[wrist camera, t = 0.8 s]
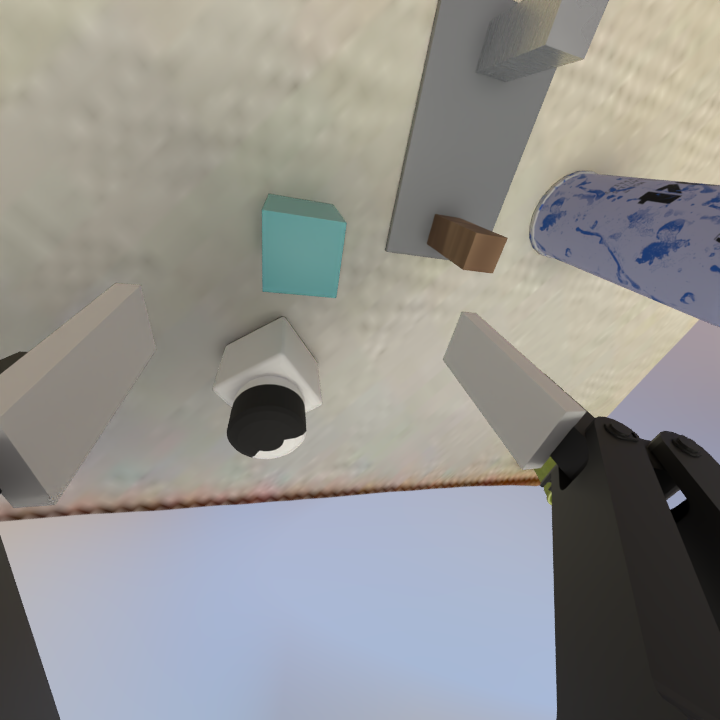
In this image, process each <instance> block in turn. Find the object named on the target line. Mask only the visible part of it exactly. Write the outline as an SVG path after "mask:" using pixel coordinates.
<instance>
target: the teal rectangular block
mask: <svg viewBox="0 0 720 720" xmlns="http://www.w3.org/2000/svg"><path fill="white" fill-rule="evenodd" d="M346 224H347V223H346V221H345V220H344V219H343V217H342V216H341V215H340V213H339V212H338V211H337V209H336V208H335V207H334V205H333V204H327V203H321V202H315V201H309V200H303V199H297V198H291V197H285V196H279V195H274V194H269V195H268V197H267V199H266V202H265V204H264V206H263V209H262V282H263V292H273V293H285V294H296V295H307V296H319V297H330V298H336V296H337V289H338V282H339V275H340V267H341V260H342V253H343V246H344V238H345V231H346Z"/></svg>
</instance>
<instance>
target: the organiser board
mask: <svg viewBox="0 0 720 720" xmlns="http://www.w3.org/2000/svg"><path fill="white" fill-rule="evenodd" d="M516 4H518V2H515V1H513V0H439V1H438V5H437V10H436V15H435V19H434V24H433V29H432V33H431V38H430V43H429V47H428V52H427V57H426V61H425V66H424V71H423V75H422V80H421V85H420V89H419V94H418V99H417V103H416V108H415V113H414V117H413V122H412V127H411V131H410V136H409V141H408V145H407V150H406V155H405V159H404V164H403V169H402V174H401V178H400V183H399V188H398V192H397V197H396V202H395V206H394V211H393V216H392V220H391V225H390V230H389V234H388V239H387V244H386V248H385V250H386V251H387V252H392V253H400V254H407V255H415V256H422V257H430V258H437V259H445V260H449V259H447V258H446V257H444V256H443V255H442V254H440V253H439V252H437V251H436V250H435V249H433V248H432V247H430V246H429V245H428V244H427V240H428V237H429V233H430V230H431V226H432V223H433V219H434V216H435V214H439V215H445V216H450V217H456V218H461V219H463V220H466V221H468V222H471V223H473V224H475V225H478V226H480V227H482V228H485V229H487V230H490V231H493V228H494V225H495V223H496V220H497V218H498V215H499V213H500V210H501V208H502V205H503V203H504V200H505V197H506V195H507V192H508V190H509V187H510V185H511V182H512V180H513V177H514V175H515V172H516V170H517V167H518V164H519V162H520V159H521V157H522V154H523V152H524V149H525V147H526V144H527V142H528V139H529V136H530V134H531V131H532V129H533V126H534V124H535V121H536V119H537V116H538V114H539V111H540V109H541V106H542V103H543V101H544V98H545V96H546V93H547V91H548V88H549V86H550V83H551V81H552V78H553V75H554V73H555V70H556V68H557V67H556V68H552V69H549V70H546V71H542V72H539V73H535V74H532V75H529V76H525V77H522V78H519V79H515V80H512V81H509V82H503V81H500V80H497V79H494V78H490V77H487V76H484V75H481V74H478V73H475V72H476V69H477V65H478V62H479V58H480V55H481V51H482V48H483V44H484V41H485V37H486V34H487V30H488V27H489V23H490V21H491V20H492V19H494V18H496V17H497V16H499V15H500V14H502V13H503V12H505V11H507V10H508V9H510V8H511V7H513V6H515V5H516Z"/></svg>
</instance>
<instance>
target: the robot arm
mask: <svg viewBox="0 0 720 720" xmlns="http://www.w3.org/2000/svg"><path fill="white" fill-rule="evenodd" d="M155 351H156V345H155V341H154V337H153V333H152V329H151V325H150V321H149V316H148V312H147V308H146V304H145V300H144V296H143V292H142V287H141V285H135V284H123V283H115V284H114V285H113V286H111V287H110V288H109V289H108V290H106V291H105V292H104V293H102V294H101V295H100V296H99V297H97V298H96V299H95V300H94V301H92V302H91V303H90V304H89V305H87V306H86V307H85V308H84V309H82V310H81V311H80V312H78V313H77V314H76V315H75V316H73V317H72V318H71V319H70V320H68V321H67V322H66V323H65V324H63V325H62V326H61V327H60V328H58V329H57V330H56V331H54V332H53V333H52V334H51V335H49V336H48V337H47V338H46V339H44V340H43V341H42V342H41V343H39V344H38V345H37V346H36V347H34V348H33V349H32V350H30V351H29V352H18V353H15V354H13V355H11V356H9V357H6V358H4V359H2V360H0V494H2V495H3V496H4V497H5V498H6V499H7V501H8V502H9V503H10V504H11V505H12V506H13V508H19V507H32V506H46V505H56V503H57V502H58V500H59V498H60V497H61V495H62V494H63V492H64V491H65V489H66V488H67V486H68V485H69V483H70V482H71V480H72V478H73V477H74V475H75V474H76V472H77V471H78V469H79V468H80V466H81V465H82V463H83V462H84V460H85V458H86V457H87V455H88V454H89V452H90V451H91V449H92V448H93V446H94V445H95V443H96V442H97V440H98V438H99V437H100V435H101V434H102V432H103V431H104V429H105V428H106V426H107V425H108V423H109V422H110V420H111V418H112V417H113V415H114V414H115V412H116V411H117V409H118V408H119V406H120V405H121V403H122V402H123V400H124V399H125V397H126V395H127V394H128V392H129V391H130V389H131V388H132V386H133V385H134V383H135V382H136V380H137V379H138V377H139V375H140V374H141V372H142V371H143V369H144V368H145V366H146V365H147V363H148V362H149V360H150V359H151V357H152V355H153V354H154V352H155ZM443 360H444V362H445V363H446V365H447V366H448V367H449V369H450V370H451V372H452V373H453V374H454V376H455V377H456V378H457V380H458V381H459V383H460V384H461V385H462V387H463V388H464V390H465V391H466V392H467V394H468V395H469V396H470V398H471V399H472V401H473V402H474V403H475V405H476V406H477V407H478V409H479V410H480V412H481V413H482V414H483V416H484V417H485V419H486V420H487V421H488V423H489V424H490V425H491V427H492V428H493V430H494V431H495V432H496V434H497V435H498V436H499V438H500V439H501V441H502V442H503V443H504V445H505V446H506V448H507V449H508V450H509V452H510V453H511V454H512V456H513V457H514V459H515V460H516V461H517V463H518V464H519V465H520V467H521V468H522V470H524V469H537V468H541V467H542V466H543V465H544V463H545V462H546V461H547V460H548V458H549V457H551V458H552V459H553V460H554V462H555V463H556V465H555V466H554V467H553V468H552V469H551V471H550V472H549V473H548V474H547V475H546V477H545V478H544V479H543V480H542V481H541V484H540V486H541V487H544V486H545V485H546V484H547V483H548V482H551V486H550V487H549V489H548V490H549V491H551V492H552V527H553V528H552V530H553V568H554V606H555V646H556V684H557V719H556V720H720V465H719V464H718V463H717V462H716V461H715V460H714V459H713V458H712V456H710V454H708V453H707V452H706V451H705V450H704V449H703V448H702V447H700V446H699V445H697V444H696V442H694V441H693V440H691V439H688V438H687V437H685V436H683V435H678V434H676V433H674V432H669V431H663V432H660V433H659V434H658V435H657V436H656V437H655V438H654V439H653V440H652V441H649V440H644V439H640V438H639V436H638V435H637V434H636V433H635V432H633V431H632V430H631V429H630V428H628V427H627V426H625V425H623V424H622V423H620V422H618V421H615V420H613V419H610V418H607V417H597V418H594V417H593V416H592V415H591V414H590V413H589V412H588V411H586V410H585V409H584V408H583V407H582V406H581V405H580V404H578V403H577V402H576V401H575V400H574V399H573V398H572V397H571V396H569V395H568V394H567V393H566V392H564V390H563V389H562V388H560V387H559V386H558V385H556V383H555V382H554V381H553V380H551V379H550V378H549V377H548V376H547V375H546V374H544V373H543V372H542V371H541V370H540V369H538V368H537V367H536V366H535V365H534V364H533V363H532V362H531V361H529V360H528V359H527V358H526V357H525V356H524V355H523V354H522V353H520V352H519V351H518V350H517V349H516V348H515V347H514V346H513V345H511V344H510V343H509V342H508V341H507V340H506V339H505V338H504V337H502V336H501V335H500V334H499V333H498V332H497V331H496V330H495V329H493V328H492V327H491V326H490V325H489V324H488V323H487V322H486V321H484V320H483V319H482V318H481V317H480V316H479V315H478V314H477V313H471V312H461V315H460V318H459V320H458V323H457V325H456V328H455V330H454V333H453V335H452V338H451V340H450V343H449V345H448V348H447V350H446V353H445V355H444V358H443ZM679 490H681V491H682V493H683V494H684V495H685V497H686V498H687V499H686V500H685V501H683V502H682V503H681V504H679V505H678V506H676V507H675V508H673V509H671V510H670V509H669V506H668V504H667V501H666V500H667V499H668V498H670V497H671V496H672V495H674V494H675V493H676V492H677V491H679ZM0 720H60V717H59V714H58V711H57V708H56V705H55V702H54V699H53V695H52V693H51V689H50V686H49V683H48V680H47V677H46V674H45V671H44V668H43V665H42V662H41V659H40V656H39V653H38V649H37V647H36V643H35V640H34V637H33V634H32V631H31V628H30V625H29V622H28V619H27V616H26V613H25V610H24V607H23V604H22V601H21V597H20V594H19V591H18V588H17V585H16V582H15V579H14V576H13V573H12V570H11V567H10V564H9V561H8V558H7V554H6V551H5V548H4V545H3V543H2V540H1V536H0Z"/></svg>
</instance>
